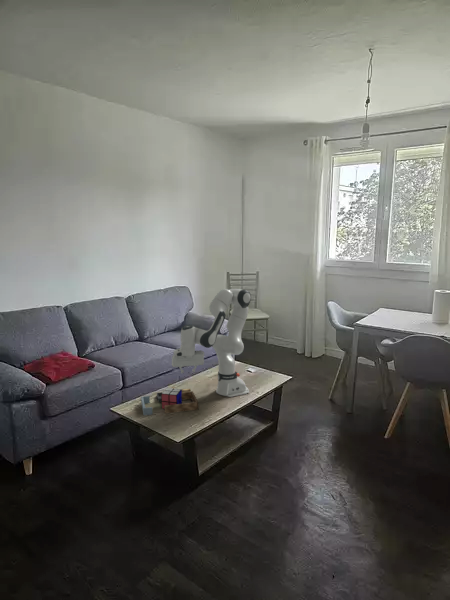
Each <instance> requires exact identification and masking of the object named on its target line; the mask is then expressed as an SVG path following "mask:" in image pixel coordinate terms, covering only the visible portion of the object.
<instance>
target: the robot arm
mask: <svg viewBox="0 0 450 600" xmlns="http://www.w3.org/2000/svg"><path fill="white" fill-rule="evenodd" d="M251 301H252V294H251V292H250V291H249V290H246V289H242V288H222V289H220V291H218V292H217V293H216V295H215V296H214V297H213V299H212V300H211V302H210V304H209V307H208V308H209V309H208V310H209V312H210V314H211V315H212V316H213V317H214V320H213V322H212V324H211V325H210V328H209V329H207V330H206V329H202V328H200V327H199V328H198V327H196V326H194V325H192V324H186V325H183V326H182V327H181V330H180V343H181V344H180V348H177V349H174V350H173V354H172V357H171V366H172V367H173V368H179V370H180V374H184V373H185V370H184V369H183V367H193V368H192V369H191V371H192V373H195V372H196V370H197V368H198V366H203V365H204V364H205V358H204V357H205V351H203V350H196V345H199V346H202V347H204V348H206V349H208V348H212V349H213V350H214V351H215V353H216V357H217V361H218V371H217V387H216V391H215V392H216V394H218V395H220V396H225V397H228V398H232V397H237V396H241V395H242V396H243V395H246V394H247V393H248V394H250V390H249V388H248V387H247V386H246V383H245V381H244V380H243V379H242V378H240V373H238V371H236V361H235V359H234V357H233V356H232V355H234V356H239V355H241V354H242V353H243V351H244V349H245V347H244V345H245V344H244V343H243V342H244V341H243V340H242V332H243V328H244V326H245V323H246V320H247V318H248V314H249V309H250V307H249V306H250V304H251ZM231 305H232V306H233V309H232V311H231V313H230V316H229V317H228V320H227V323H226V328H227V331H228V336H227V335H226V334H225V335H224V334H219V333H220V331H221V328H222V326H223V324H224V322H225V320H226V312H227V310H228V308H229V307H230V306H231Z"/></svg>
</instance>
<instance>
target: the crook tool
mask: <svg viewBox="0 0 450 600" xmlns="http://www.w3.org/2000/svg"><path fill="white" fill-rule="evenodd" d="M171 388H175V389H176V387H174V386H172V387H171ZM181 389H182V392H191V388H181Z"/></svg>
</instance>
